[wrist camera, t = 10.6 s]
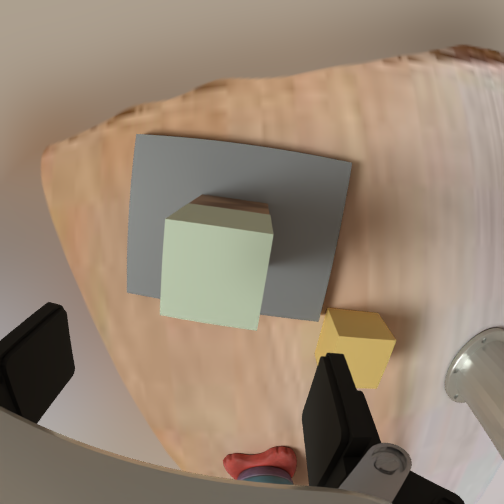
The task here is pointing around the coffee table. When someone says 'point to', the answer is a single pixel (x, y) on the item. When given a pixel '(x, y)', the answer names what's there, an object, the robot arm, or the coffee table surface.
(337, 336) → the ochre block
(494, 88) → the coffee table surface
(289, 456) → the stacking bear
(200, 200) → the walnut base block
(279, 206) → the slate base board
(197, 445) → the coffee table surface
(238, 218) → the sage-green block
